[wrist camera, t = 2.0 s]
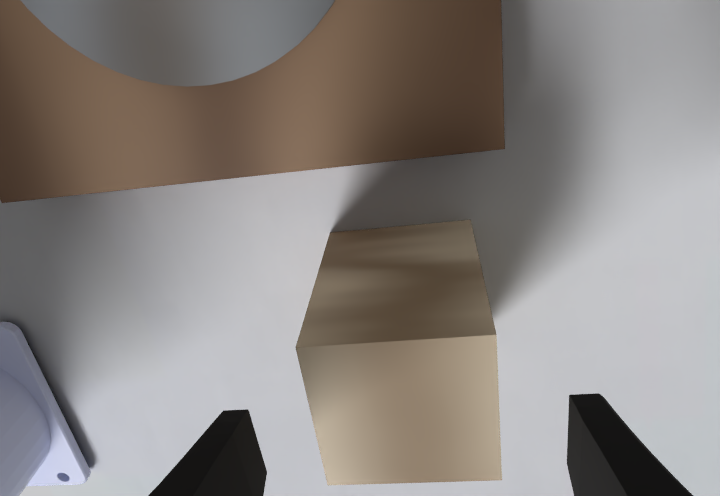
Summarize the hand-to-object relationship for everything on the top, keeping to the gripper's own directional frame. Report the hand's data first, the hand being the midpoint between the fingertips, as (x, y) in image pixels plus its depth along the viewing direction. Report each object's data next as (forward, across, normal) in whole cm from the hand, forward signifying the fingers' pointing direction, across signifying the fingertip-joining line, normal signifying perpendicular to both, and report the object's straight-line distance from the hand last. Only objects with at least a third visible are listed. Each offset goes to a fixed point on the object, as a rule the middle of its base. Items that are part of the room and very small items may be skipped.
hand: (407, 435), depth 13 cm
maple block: (+7, 0, 0) cm, 7 cm away
